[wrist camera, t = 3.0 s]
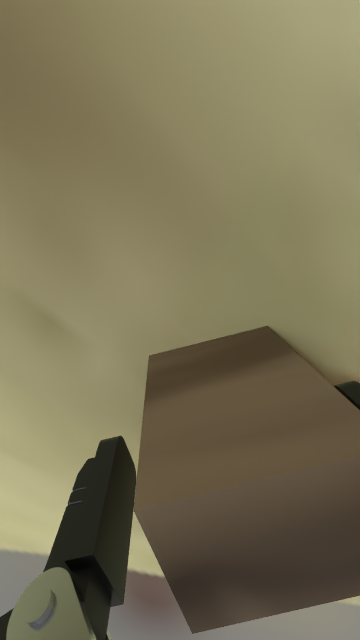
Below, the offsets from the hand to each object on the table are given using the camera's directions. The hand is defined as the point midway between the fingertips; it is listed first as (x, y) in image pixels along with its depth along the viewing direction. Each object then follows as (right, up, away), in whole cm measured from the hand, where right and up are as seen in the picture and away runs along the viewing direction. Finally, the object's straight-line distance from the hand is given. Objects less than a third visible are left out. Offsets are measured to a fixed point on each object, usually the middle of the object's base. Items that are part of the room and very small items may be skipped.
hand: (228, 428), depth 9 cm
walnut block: (0, +1, +2) cm, 2 cm away
